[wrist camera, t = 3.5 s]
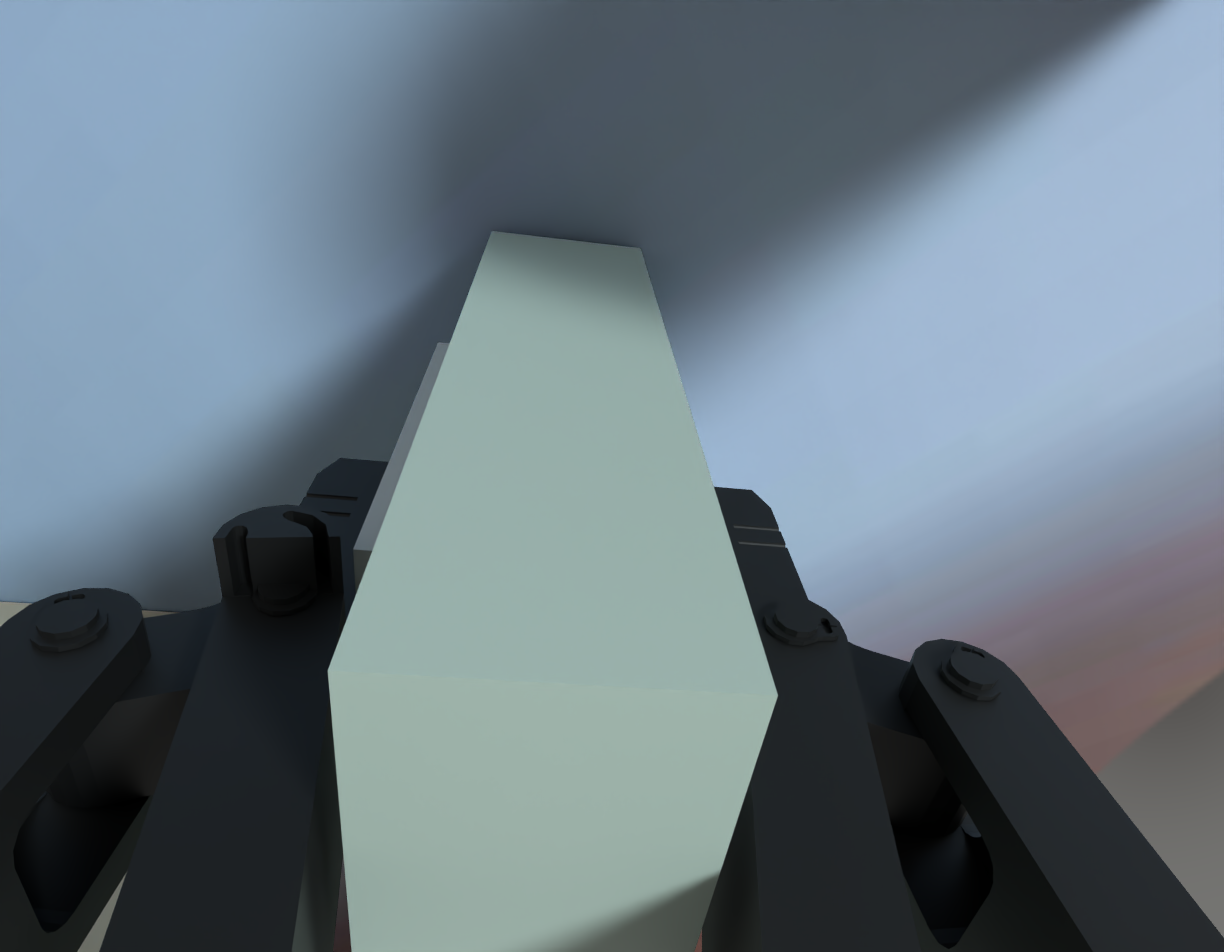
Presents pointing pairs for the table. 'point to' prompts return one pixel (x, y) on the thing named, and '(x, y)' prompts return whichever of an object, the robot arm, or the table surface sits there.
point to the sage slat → (547, 637)
